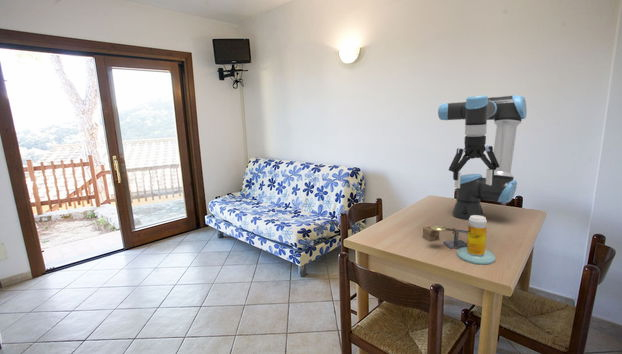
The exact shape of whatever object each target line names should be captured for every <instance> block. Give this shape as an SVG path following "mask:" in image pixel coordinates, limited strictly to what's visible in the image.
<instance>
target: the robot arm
mask: <svg viewBox="0 0 622 354" xmlns="http://www.w3.org/2000/svg"><path fill="white" fill-rule="evenodd" d="M437 117H438V119H439V120H441V121H457V120H459V121H460V120H464V121H465V122H464V123H465V124H464V125H465V126H464V135H465V136H464V148H460V147H458V148H457V149H456V151H455V152H456V153H455V155H454V158H453V160H452V161H451V163H450V166H449V168H448V171H449V172H452V178H453V181H454V188H456V201H455V203H454V207H453V209H452V213H451V214H452V216H453V217H455V218H458V219H461V220H468V221H469V218H470V216H472V215H480V216H484V210H483V208H482V205H481V200H484V201H491V202H498V203H507V204H508V203H510V202H512V200H513V198H514V197H515V193H516V190H517V185H518V183H517V180H515V179H514V176H513V174H512V173H511V172H512V165H513V164H512V163H513V159H514V149H515V143H516V137H517V136H516V134H517V128H518V126H519V125H520V124H522V120H524V119H526V118H527V101H526V98H525V97H524V96H523V95H522V94H521V95H505V96H497V97H495V96H494V97H493V96H492V97H488V96H487V95H476V96H475V95H474V96H467V98H466V99H465V101H464V102H463V101H461V102H445V103H441V104H440V105H439V106H438V110H437ZM488 120H489V121H493V124H495V125H496V129H495V138H494V144H493V146H492V145H486V142H487V136H486V134H487V127H488V125H487V121H488ZM485 145H486V146H485ZM485 152H486V154H485ZM487 156H488V157H487ZM471 159H473V160H474V159H480V160H481V161H482V162H483V164H484V165H485V166H486V167H487V168H486V174H485V177H483V175H482V174H481V173H467V174H462V173H461V172H460V171H461V170H462V169H463V167H465V165H466V164H467V163H468V161H469V160H471ZM461 174H462V175H461Z"/></svg>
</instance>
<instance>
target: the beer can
mask: <svg viewBox="0 0 622 354" xmlns="http://www.w3.org/2000/svg"><path fill="white" fill-rule="evenodd" d="M487 222H488V221H487V217H486V216H484V215H483V216H480V215H472V216H470V218H469V220H468V229H467V231H468V234H467V243H466V244H467V251H468V252H469V254H471V255H473V256H482V255H483V254H485V250H486V240H487V239H486V238H487V224H488V223H487Z"/></svg>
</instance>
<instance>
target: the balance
mask: <svg viewBox="0 0 622 354" xmlns="http://www.w3.org/2000/svg"><path fill="white" fill-rule="evenodd" d="M430 226H431V229H432V230H434V231H439V232H445V231H447V232H452V234H453V240H443V245H445V246H446V247H447V248H448V249H449V250H456V249H457V250H458V249H460V248H463V247H467V244H468V243H466V242H465V241H463V240H462V239H459V234H460V233H462V234H467V235H468V230H463V229H457V228H455V227H453V228H449V227H446V226H444V225H441V224H433V225H430Z"/></svg>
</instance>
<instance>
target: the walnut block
mask: <svg viewBox="0 0 622 354" xmlns="http://www.w3.org/2000/svg"><path fill="white" fill-rule="evenodd" d="M431 226H432V225H430V226H424V227H422V238H423V239H424V240H427V241H429V242H433V241H439V240H440V231H434V230H432V229H431Z"/></svg>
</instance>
